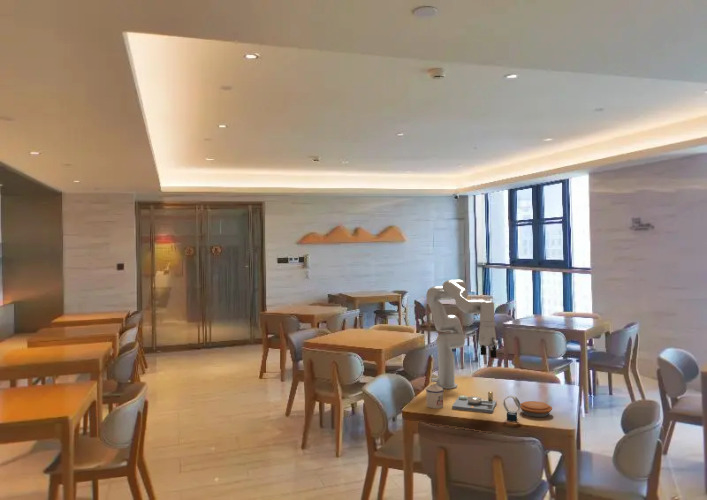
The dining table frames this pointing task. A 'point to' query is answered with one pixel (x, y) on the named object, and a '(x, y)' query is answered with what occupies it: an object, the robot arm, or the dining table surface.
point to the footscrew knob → (479, 400)
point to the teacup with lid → (434, 396)
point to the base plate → (473, 405)
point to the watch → (512, 414)
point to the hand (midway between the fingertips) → (488, 356)
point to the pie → (535, 409)
